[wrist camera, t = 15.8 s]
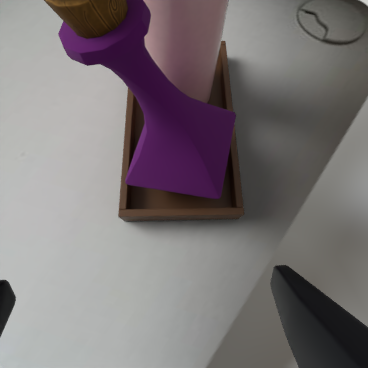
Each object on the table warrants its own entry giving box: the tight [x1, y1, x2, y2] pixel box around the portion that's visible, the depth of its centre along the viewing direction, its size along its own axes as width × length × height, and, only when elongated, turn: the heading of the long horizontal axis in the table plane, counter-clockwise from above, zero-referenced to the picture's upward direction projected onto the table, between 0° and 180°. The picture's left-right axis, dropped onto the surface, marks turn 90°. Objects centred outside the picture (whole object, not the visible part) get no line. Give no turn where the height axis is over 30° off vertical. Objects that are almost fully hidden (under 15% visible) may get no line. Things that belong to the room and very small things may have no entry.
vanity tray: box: [118, 41, 244, 221], centre depth 23 cm, size 19×10×2 cm, turn 1°
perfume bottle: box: [44, 0, 236, 199], centre depth 13 cm, size 8×8×18 cm
